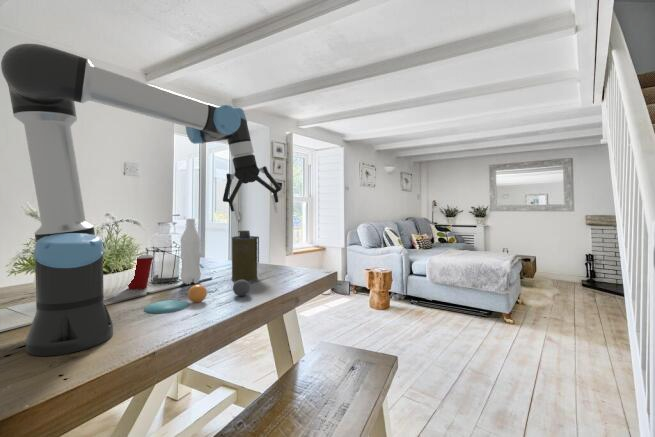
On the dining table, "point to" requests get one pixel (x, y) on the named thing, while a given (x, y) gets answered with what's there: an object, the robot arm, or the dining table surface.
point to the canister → (244, 257)
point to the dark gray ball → (241, 287)
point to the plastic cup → (141, 272)
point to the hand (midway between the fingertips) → (257, 215)
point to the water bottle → (190, 253)
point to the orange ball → (197, 293)
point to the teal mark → (166, 306)
